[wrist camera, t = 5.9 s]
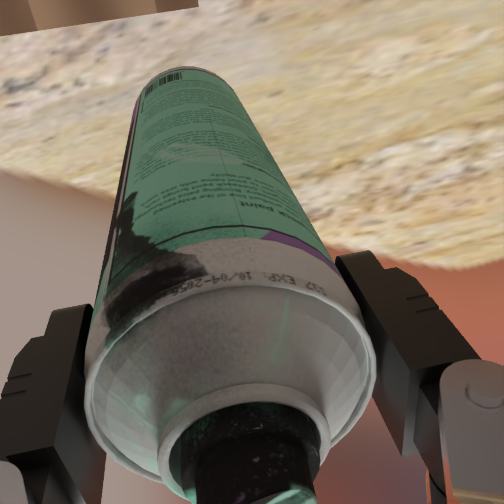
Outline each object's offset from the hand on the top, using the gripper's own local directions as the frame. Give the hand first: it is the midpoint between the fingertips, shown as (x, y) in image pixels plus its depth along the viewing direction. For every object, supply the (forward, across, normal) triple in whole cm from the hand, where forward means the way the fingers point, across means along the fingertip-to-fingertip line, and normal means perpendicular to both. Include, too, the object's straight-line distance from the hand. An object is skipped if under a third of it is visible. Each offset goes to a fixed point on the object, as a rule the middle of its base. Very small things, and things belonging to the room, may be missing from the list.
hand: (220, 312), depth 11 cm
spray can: (+15, 0, 0) cm, 15 cm away
